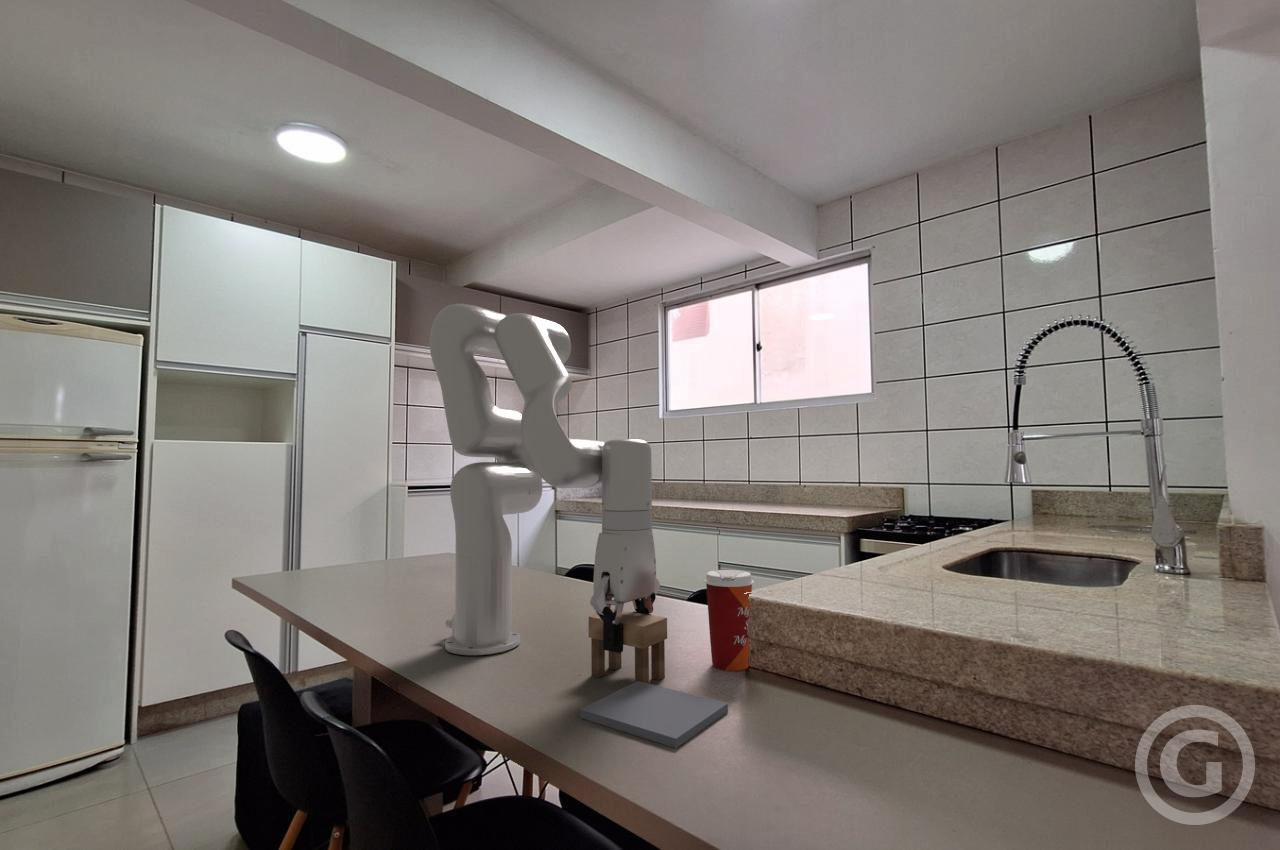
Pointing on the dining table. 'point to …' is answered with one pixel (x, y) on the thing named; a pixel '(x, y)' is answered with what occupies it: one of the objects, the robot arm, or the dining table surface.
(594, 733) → the dining table surface
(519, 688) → the dining table surface
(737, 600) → the paper cup
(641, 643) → the footstool
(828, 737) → the dining table surface
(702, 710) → the mat
